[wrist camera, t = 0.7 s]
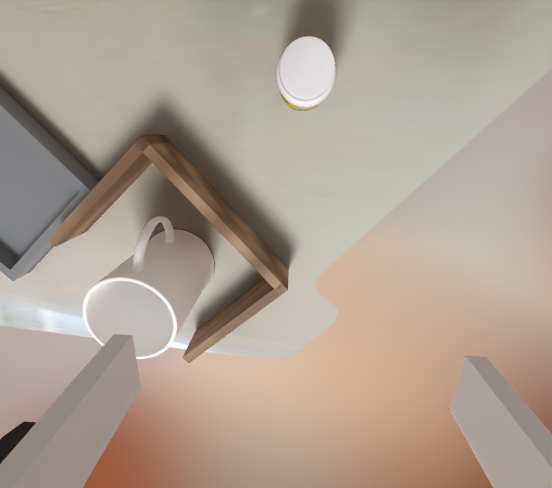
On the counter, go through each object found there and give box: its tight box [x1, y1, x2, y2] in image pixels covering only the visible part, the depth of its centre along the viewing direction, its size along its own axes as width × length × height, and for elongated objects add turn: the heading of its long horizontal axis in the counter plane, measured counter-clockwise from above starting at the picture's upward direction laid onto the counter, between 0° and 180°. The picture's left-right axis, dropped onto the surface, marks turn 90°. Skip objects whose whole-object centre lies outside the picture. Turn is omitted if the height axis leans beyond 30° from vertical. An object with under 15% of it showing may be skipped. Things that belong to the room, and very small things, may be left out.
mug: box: [83, 216, 214, 359], centre depth 30 cm, size 12×8×12 cm
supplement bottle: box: [276, 36, 336, 111], centre depth 25 cm, size 5×5×8 cm
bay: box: [47, 135, 289, 363], centre depth 34 cm, size 20×15×5 cm
